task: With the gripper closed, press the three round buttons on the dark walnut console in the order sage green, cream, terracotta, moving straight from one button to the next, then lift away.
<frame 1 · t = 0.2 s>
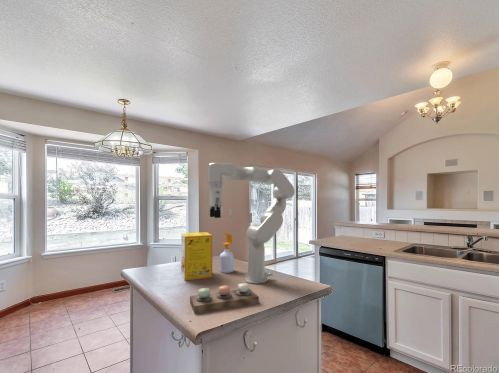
hand: (215, 217, 140), 36 cm above the countertop, tool pointing down, fingers open, 9 cm apart
button sage: (204, 292, 111), point 6 cm above the countertop, slide at 0.0 cm
packaging box: (196, 275, 158), on the countertop
soap bottle: (226, 271, 167), on the countertop
button cream: (243, 287, 118), point 6 cm above the countertop, slide at 0.0 cm
button terracotta: (224, 290, 114), point 6 cm above the countertop, slide at 0.0 cm
console: (224, 303, 114), on the countertop
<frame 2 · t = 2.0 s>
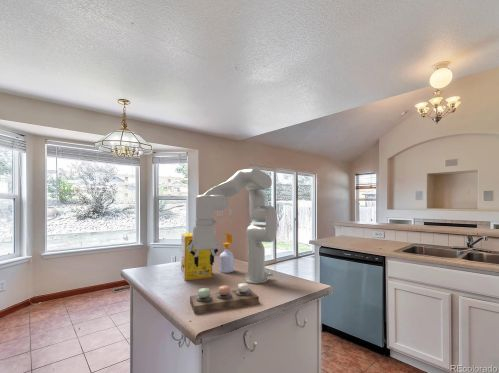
hand: (204, 264, 112), 18 cm above the countertop, tool pointing down, fingers open, 5 cm apart
nothing on the countertop moved.
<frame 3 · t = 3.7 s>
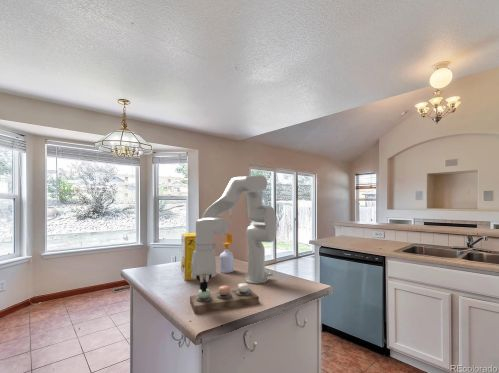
hand: (203, 290, 111), 7 cm above the countertop, tool pointing down, fingers closed
button sage: (204, 293, 111), point 5 cm above the countertop, slide at 0.3 cm, touching gripper
everything else where it was.
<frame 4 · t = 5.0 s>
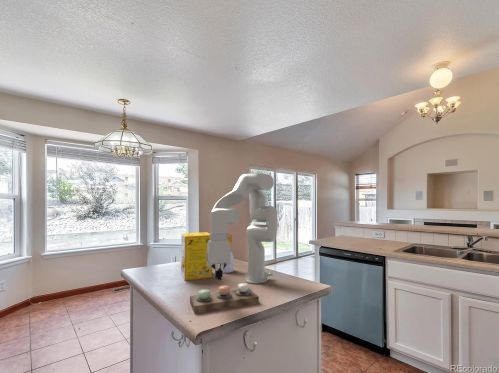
hand: (218, 279, 114), 11 cm above the countertop, tool pointing down, fingers closed
button sage: (204, 294, 111), point 5 cm above the countertop, slide at 0.6 cm
everything else where it was.
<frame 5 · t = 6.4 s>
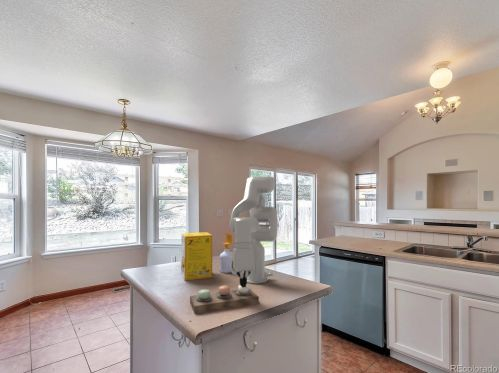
hand: (243, 286, 117), 6 cm above the countertop, tool pointing down, fingers closed
button cream: (243, 288, 118), point 5 cm above the countertop, slide at 0.6 cm, touching gripper
everything else where it was.
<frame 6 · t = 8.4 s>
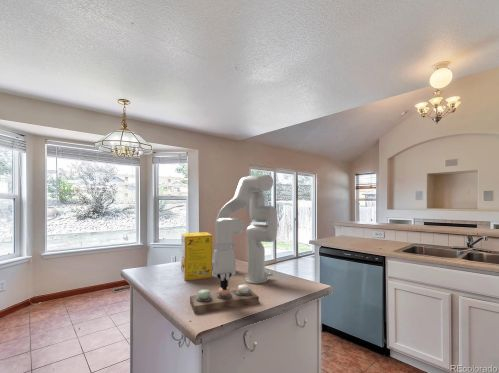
hand: (224, 288, 114), 6 cm above the countertop, tool pointing down, fingers closed
button cream: (243, 288, 118), point 5 cm above the countertop, slide at 0.6 cm
button terracotta: (224, 291, 114), point 5 cm above the countertop, slide at 0.6 cm, touching gripper
everything else where it was.
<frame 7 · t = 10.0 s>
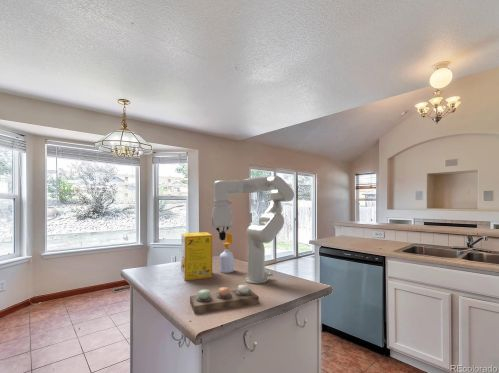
hand: (222, 239, 134), 25 cm above the countertop, tool pointing down, fingers closed
button terracotta: (224, 291, 114), point 5 cm above the countertop, slide at 0.6 cm
everything else where it was.
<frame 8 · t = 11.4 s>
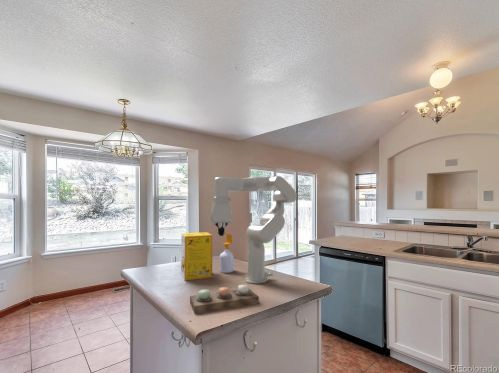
hand: (221, 235, 136), 27 cm above the countertop, tool pointing down, fingers closed
nothing on the countertop moved.
at the end: button sage slide at 0.6 cm; button cream slide at 0.6 cm; button terracotta slide at 0.6 cm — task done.
